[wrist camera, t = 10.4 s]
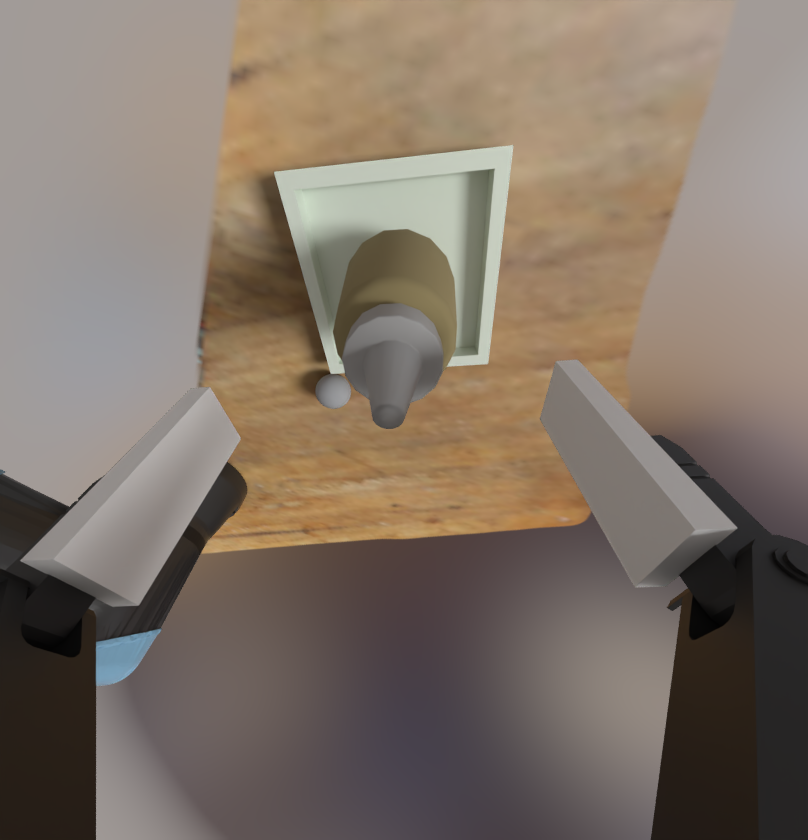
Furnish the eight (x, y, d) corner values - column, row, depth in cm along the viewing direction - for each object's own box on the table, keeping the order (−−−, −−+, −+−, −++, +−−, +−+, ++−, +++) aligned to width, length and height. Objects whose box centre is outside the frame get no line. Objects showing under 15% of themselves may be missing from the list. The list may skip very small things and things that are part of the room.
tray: (335, 361, 30) (330, 373, 28) (286, 171, 21) (273, 171, 19) (482, 351, 29) (487, 363, 27) (503, 147, 20) (513, 145, 18)
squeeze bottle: (336, 297, 25) (248, 443, 11) (380, 196, 21) (320, 236, 7) (416, 342, 28) (421, 506, 14) (469, 261, 23) (556, 384, 10)
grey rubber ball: (324, 396, 33) (317, 416, 30) (316, 368, 31) (306, 387, 28) (356, 394, 33) (351, 414, 30) (349, 366, 31) (343, 385, 28)
